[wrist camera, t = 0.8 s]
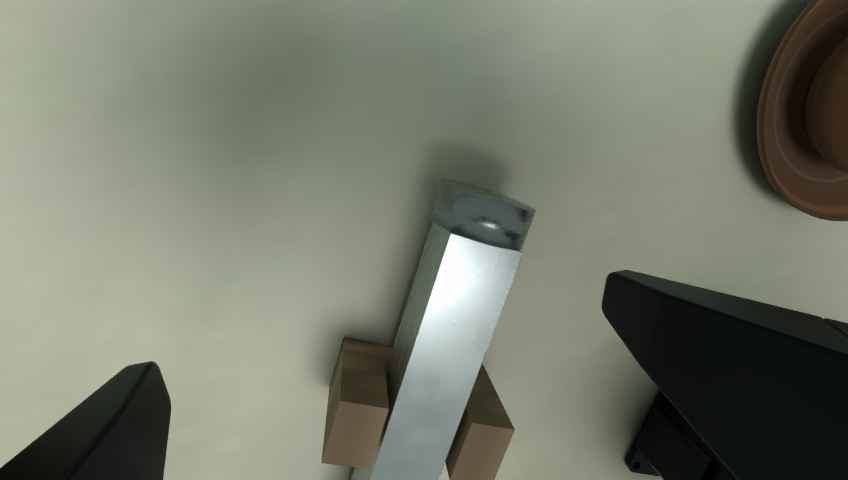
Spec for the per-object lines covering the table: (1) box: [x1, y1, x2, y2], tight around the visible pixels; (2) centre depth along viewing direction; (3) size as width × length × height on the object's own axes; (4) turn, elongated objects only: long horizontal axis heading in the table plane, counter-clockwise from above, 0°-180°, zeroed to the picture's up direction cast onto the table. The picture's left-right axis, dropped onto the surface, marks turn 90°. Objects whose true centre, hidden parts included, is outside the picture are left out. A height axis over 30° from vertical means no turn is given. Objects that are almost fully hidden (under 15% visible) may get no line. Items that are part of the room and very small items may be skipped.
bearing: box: [322, 338, 515, 480], centre depth 21 cm, size 8×3×5 cm, turn 73°
